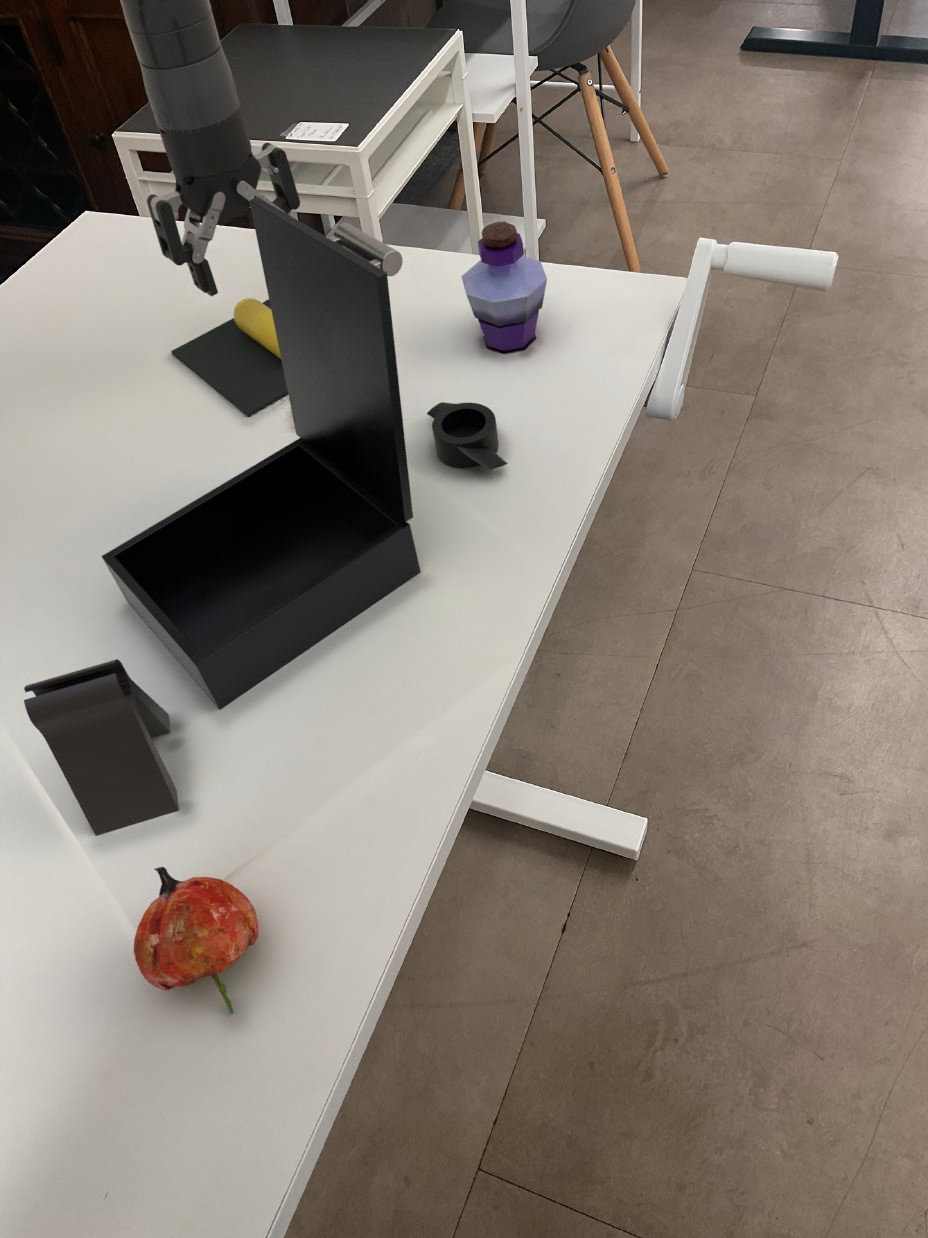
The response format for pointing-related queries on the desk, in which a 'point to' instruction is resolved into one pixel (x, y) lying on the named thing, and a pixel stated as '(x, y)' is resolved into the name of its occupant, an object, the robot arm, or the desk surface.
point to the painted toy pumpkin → (193, 932)
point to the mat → (236, 366)
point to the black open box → (263, 568)
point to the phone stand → (105, 744)
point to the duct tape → (465, 435)
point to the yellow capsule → (257, 323)
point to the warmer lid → (338, 347)
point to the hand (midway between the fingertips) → (246, 273)
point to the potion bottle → (505, 289)
